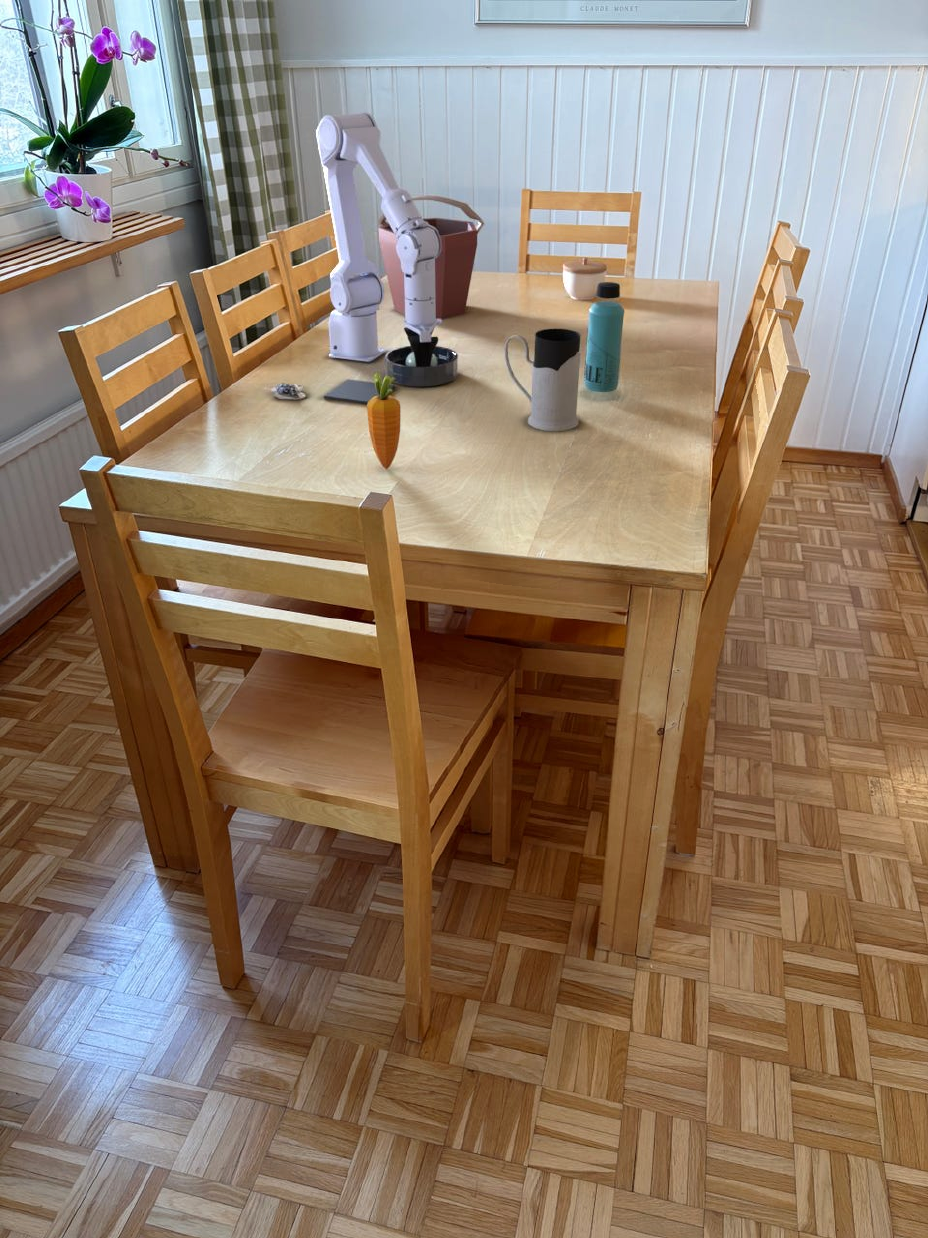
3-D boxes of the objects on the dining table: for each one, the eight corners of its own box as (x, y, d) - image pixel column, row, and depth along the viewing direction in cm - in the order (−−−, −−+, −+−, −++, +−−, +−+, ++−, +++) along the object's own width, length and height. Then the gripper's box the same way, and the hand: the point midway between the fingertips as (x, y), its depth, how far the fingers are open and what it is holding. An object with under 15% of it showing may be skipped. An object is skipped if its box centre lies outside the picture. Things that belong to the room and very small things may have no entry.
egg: (407, 378, 180) (406, 355, 177) (404, 371, 183) (403, 348, 181) (439, 376, 181) (438, 354, 178) (435, 369, 184) (435, 347, 182)
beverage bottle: (620, 390, 175) (631, 280, 165) (613, 402, 170) (624, 288, 159) (586, 386, 177) (594, 277, 166) (578, 398, 172) (586, 285, 161)
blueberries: (292, 384, 178) (291, 374, 177) (317, 394, 173) (317, 384, 172) (262, 392, 174) (261, 382, 173) (287, 403, 169) (286, 393, 168)
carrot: (370, 462, 147) (365, 368, 139) (402, 461, 147) (398, 367, 139) (370, 475, 143) (365, 379, 135) (403, 474, 143) (399, 378, 135)
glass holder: (564, 434, 157) (569, 345, 149) (491, 418, 163) (492, 331, 155) (587, 418, 163) (593, 332, 155) (515, 403, 169) (518, 319, 161)
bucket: (498, 307, 226) (500, 194, 212) (447, 328, 210) (446, 208, 197) (414, 293, 237) (411, 185, 223) (361, 313, 221) (354, 198, 208)
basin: (374, 383, 179) (372, 362, 177) (403, 361, 190) (402, 342, 188) (442, 391, 175) (441, 370, 173) (468, 369, 186) (468, 349, 184)
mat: (323, 398, 172) (323, 395, 171) (348, 381, 180) (348, 379, 179) (373, 405, 169) (373, 402, 168) (395, 387, 177) (395, 385, 176)
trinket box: (562, 291, 239) (564, 252, 234) (604, 292, 238) (607, 253, 233) (560, 301, 230) (562, 261, 225) (604, 303, 229) (607, 263, 224)
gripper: (447, 306, 169) (447, 379, 176) (435, 286, 181) (436, 356, 188) (408, 307, 168) (410, 381, 175) (399, 288, 180) (401, 358, 187)
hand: (421, 368), depth 182 cm, fingers closed on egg, 4 cm apart
